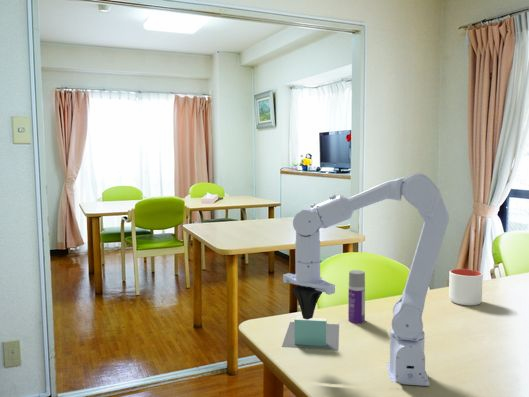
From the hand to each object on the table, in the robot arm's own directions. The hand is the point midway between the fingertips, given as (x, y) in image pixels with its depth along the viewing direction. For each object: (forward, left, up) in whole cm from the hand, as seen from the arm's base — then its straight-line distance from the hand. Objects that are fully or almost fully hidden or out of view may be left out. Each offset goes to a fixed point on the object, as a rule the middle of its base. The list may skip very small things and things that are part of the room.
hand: (307, 318), depth 106 cm
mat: (+15, 0, -10) cm, 18 cm away
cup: (+53, -48, -11) cm, 72 cm away
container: (+28, -12, -11) cm, 32 cm away
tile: (+9, 0, -10) cm, 13 cm away
